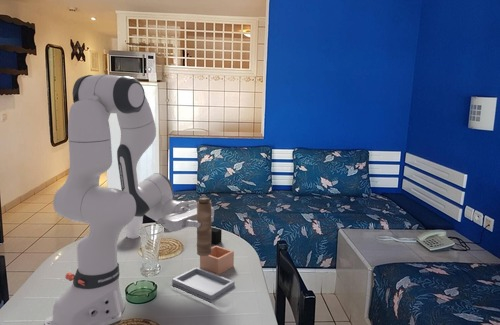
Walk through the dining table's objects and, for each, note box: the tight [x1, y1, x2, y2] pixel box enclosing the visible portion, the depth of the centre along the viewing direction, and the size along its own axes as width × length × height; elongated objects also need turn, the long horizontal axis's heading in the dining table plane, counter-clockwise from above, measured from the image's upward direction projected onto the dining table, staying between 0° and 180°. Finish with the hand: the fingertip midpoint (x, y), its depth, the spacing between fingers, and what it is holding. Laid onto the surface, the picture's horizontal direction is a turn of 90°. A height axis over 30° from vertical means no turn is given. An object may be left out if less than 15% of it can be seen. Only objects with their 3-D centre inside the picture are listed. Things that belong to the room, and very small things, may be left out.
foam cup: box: [124, 215, 144, 239], centre depth 179 cm, size 10×9×13 cm
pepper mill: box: [196, 197, 213, 257], centre depth 132 cm, size 5×5×19 cm
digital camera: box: [211, 226, 223, 246], centre depth 174 cm, size 10×5×7 cm, turn 61°
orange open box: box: [199, 245, 235, 276], centre depth 148 cm, size 9×9×7 cm
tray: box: [171, 266, 236, 303], centre depth 135 cm, size 12×18×2 cm, turn 54°
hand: (206, 222), depth 131 cm, fingers closed on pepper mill, 5 cm apart
